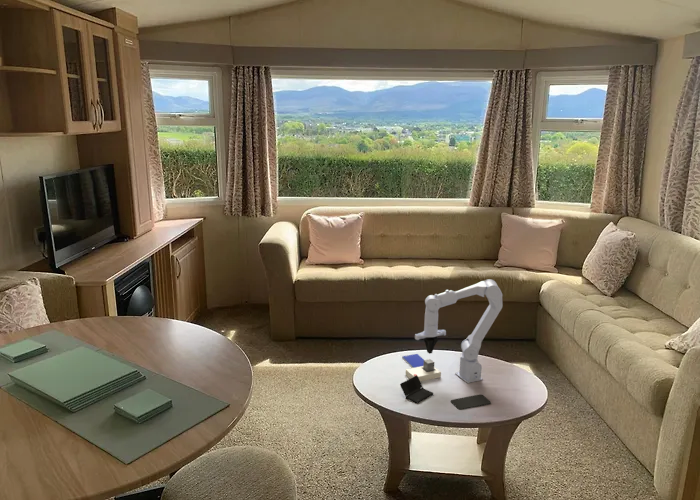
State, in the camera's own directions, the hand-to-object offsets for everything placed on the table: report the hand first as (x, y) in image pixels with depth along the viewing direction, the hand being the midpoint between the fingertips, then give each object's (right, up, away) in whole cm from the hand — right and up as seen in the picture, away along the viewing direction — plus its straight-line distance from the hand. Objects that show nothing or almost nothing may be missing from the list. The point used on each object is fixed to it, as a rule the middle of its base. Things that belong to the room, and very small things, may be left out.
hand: (429, 352), depth 236 cm
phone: (+13, -17, -20) cm, 29 cm away
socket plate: (-3, -10, +1) cm, 11 cm away
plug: (0, -10, +3) cm, 10 cm away
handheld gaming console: (-7, -15, -15) cm, 22 cm away
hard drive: (-4, -8, +14) cm, 17 cm away
